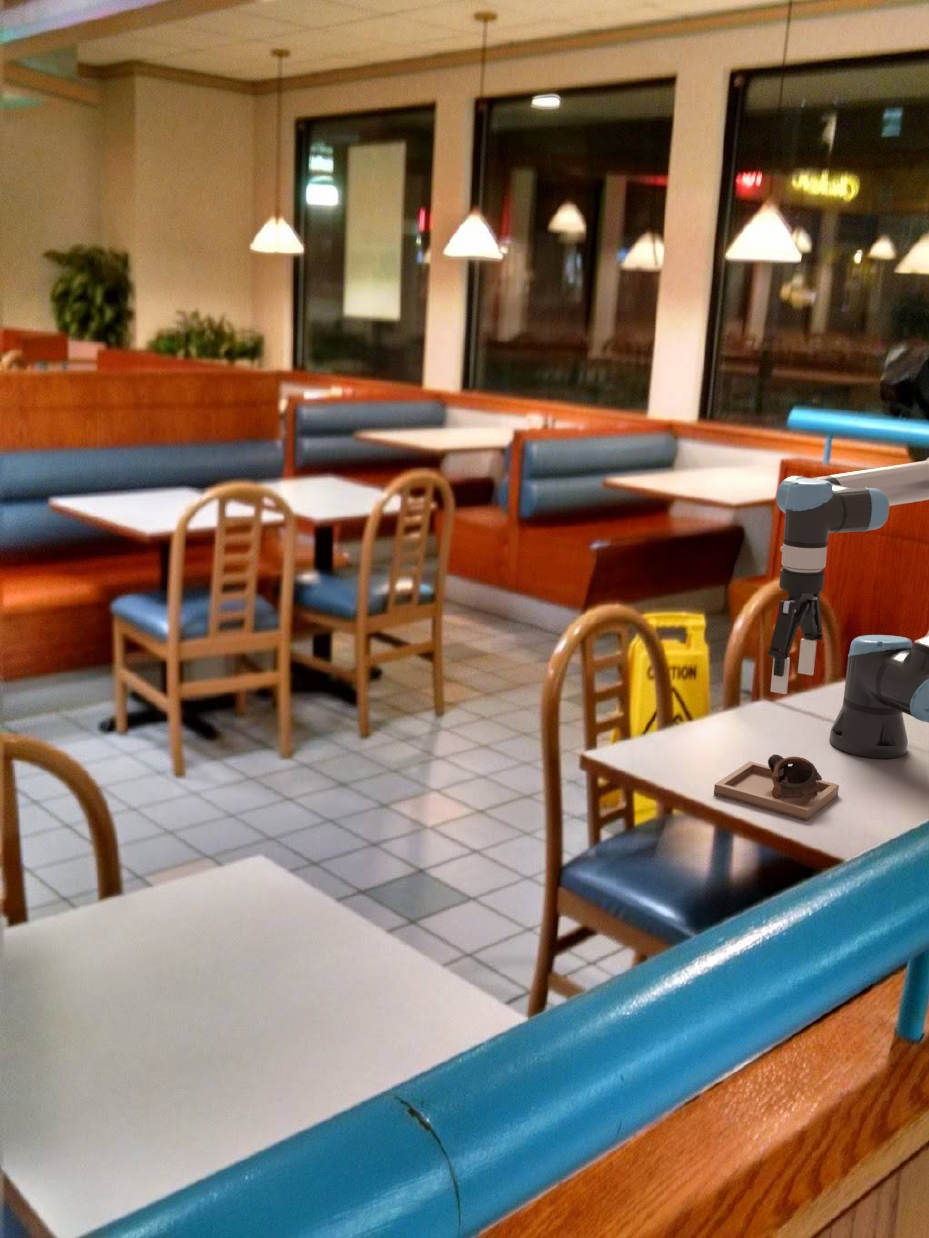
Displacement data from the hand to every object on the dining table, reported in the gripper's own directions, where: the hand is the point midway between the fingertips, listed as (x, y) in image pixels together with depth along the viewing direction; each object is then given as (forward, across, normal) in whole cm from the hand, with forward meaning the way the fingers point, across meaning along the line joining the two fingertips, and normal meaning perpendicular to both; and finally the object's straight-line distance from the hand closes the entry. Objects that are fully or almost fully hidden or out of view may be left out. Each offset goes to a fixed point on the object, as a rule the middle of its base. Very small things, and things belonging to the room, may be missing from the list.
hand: (792, 683), depth 219 cm
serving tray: (+20, +4, 0) cm, 21 cm away
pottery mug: (+20, +4, +3) cm, 20 cm away
